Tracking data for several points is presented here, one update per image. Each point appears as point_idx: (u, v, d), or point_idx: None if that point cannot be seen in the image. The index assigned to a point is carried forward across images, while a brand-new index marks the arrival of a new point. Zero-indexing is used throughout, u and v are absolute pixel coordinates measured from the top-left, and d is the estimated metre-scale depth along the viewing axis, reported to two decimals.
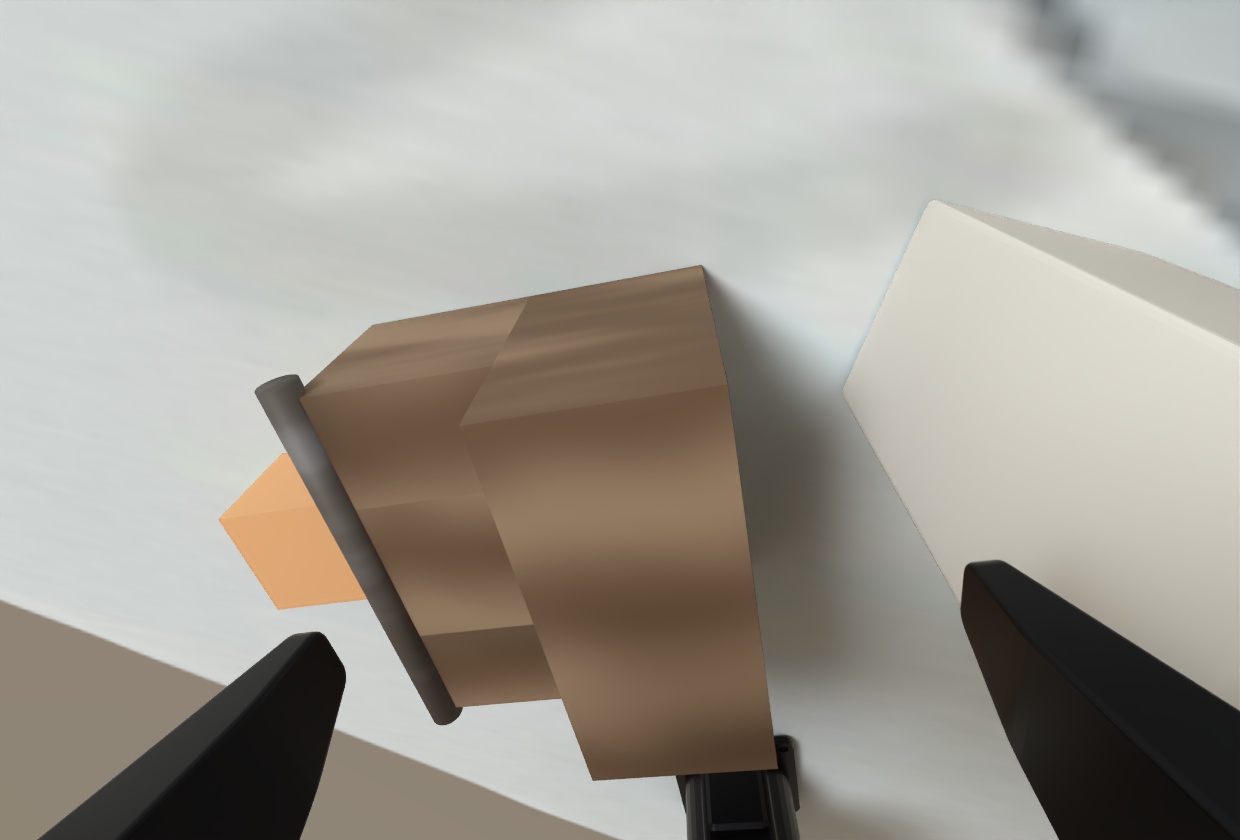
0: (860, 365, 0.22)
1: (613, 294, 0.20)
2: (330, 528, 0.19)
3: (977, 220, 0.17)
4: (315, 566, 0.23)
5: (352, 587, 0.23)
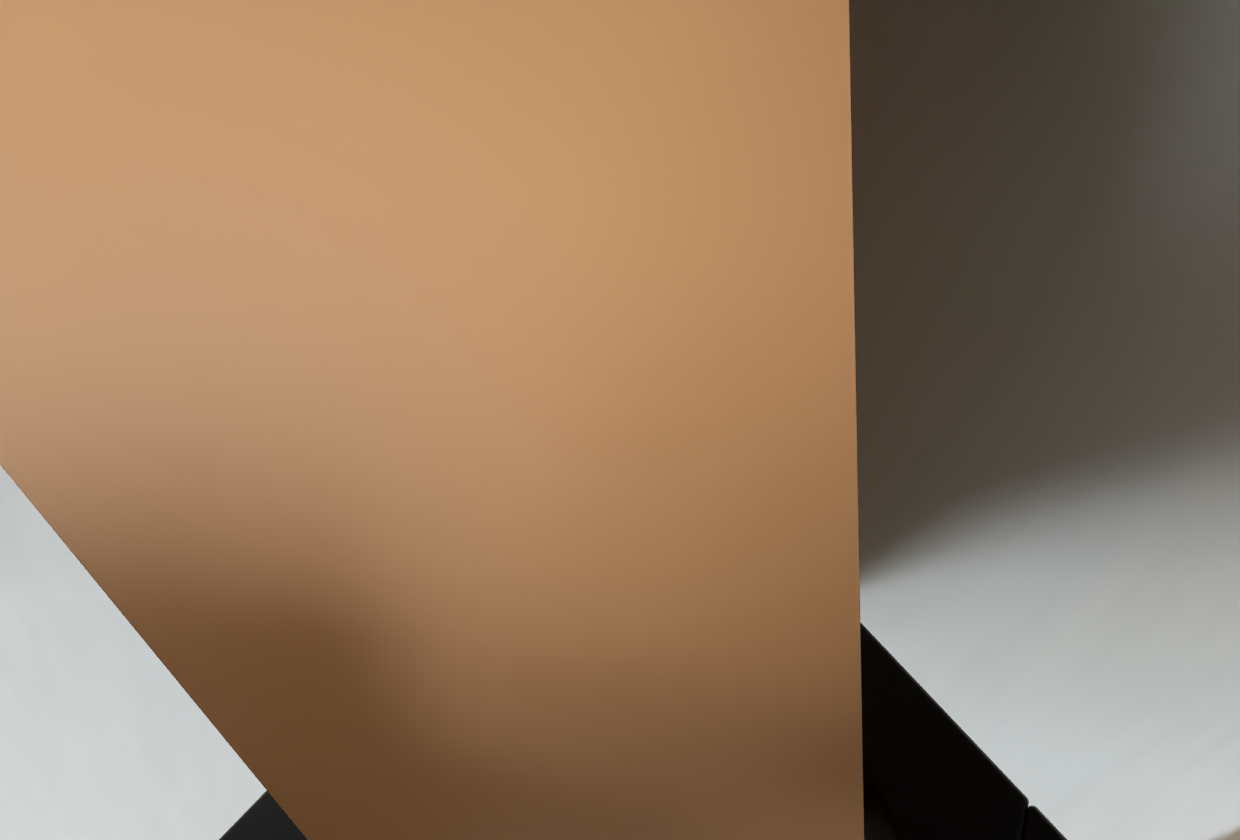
0: None
1: None
2: None
3: None
4: None
5: (764, 776, 0.04)
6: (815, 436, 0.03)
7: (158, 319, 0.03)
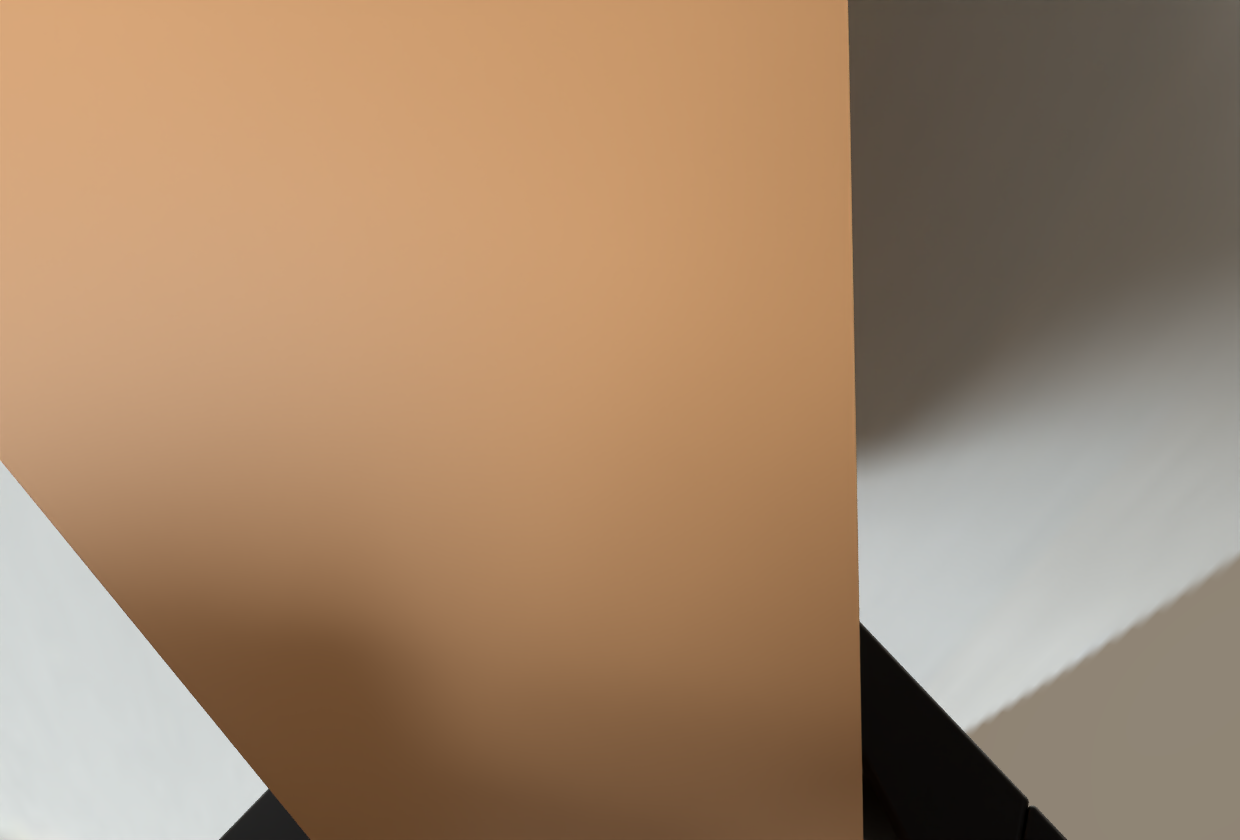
0: None
1: None
2: None
3: None
4: None
5: (765, 776, 0.04)
6: (814, 438, 0.03)
7: (162, 321, 0.03)
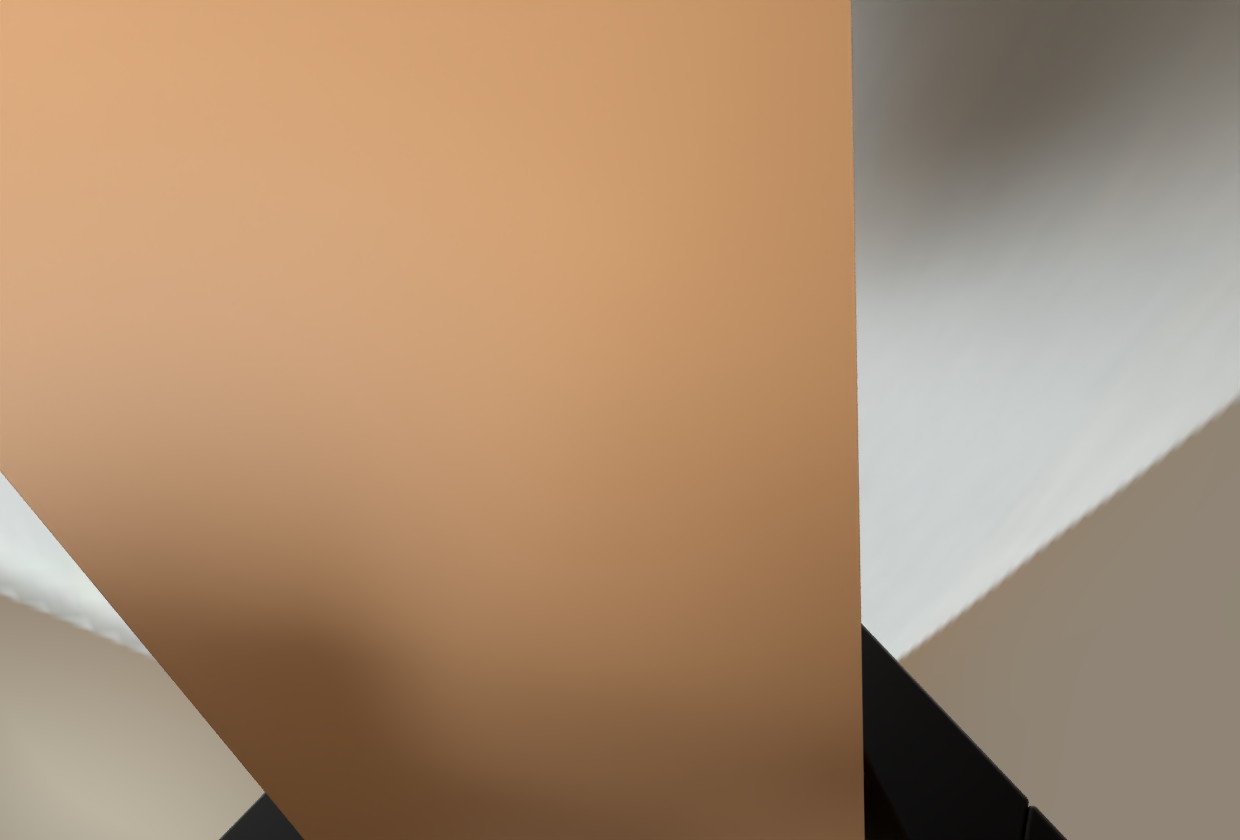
0: None
1: None
2: None
3: None
4: None
5: (764, 781, 0.04)
6: (817, 444, 0.03)
7: (159, 328, 0.03)
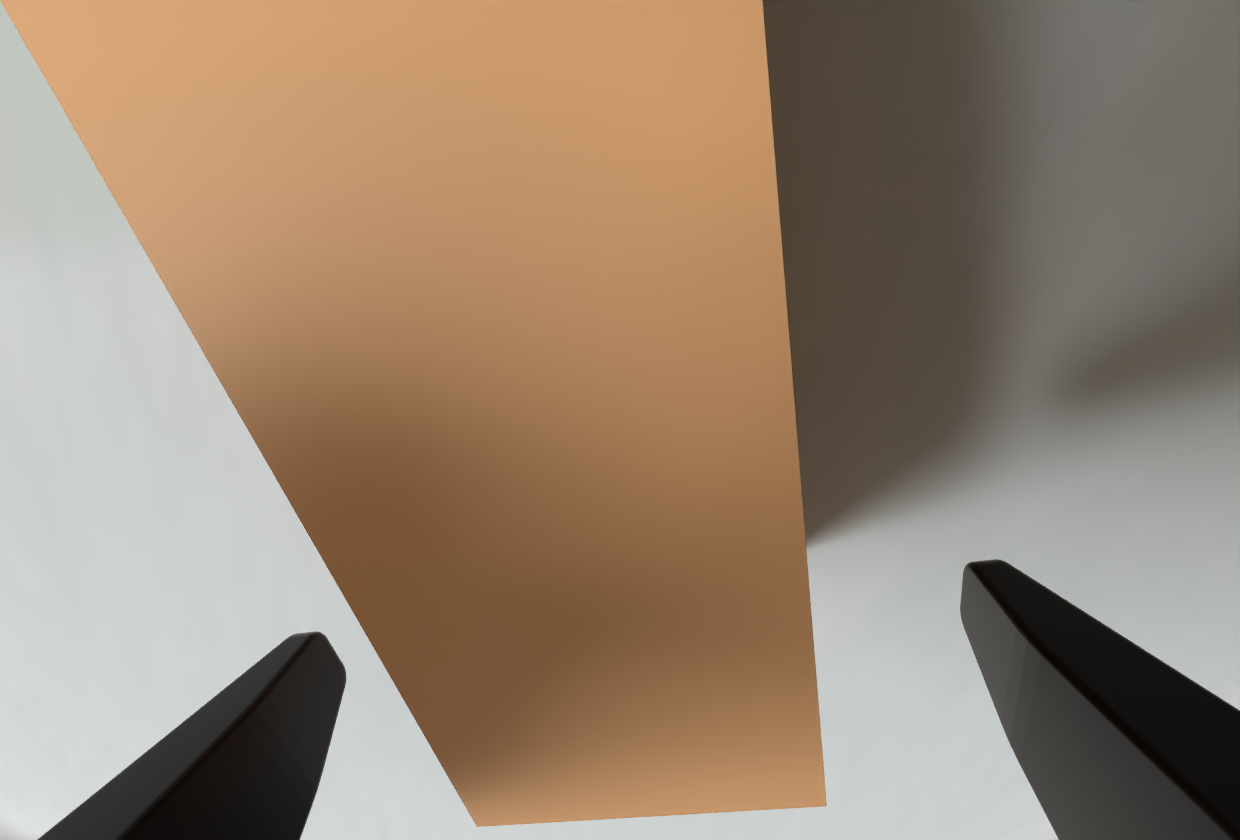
0: None
1: None
2: None
3: None
4: (635, 684, 0.07)
5: (738, 608, 0.06)
6: (761, 333, 0.05)
7: (333, 257, 0.04)
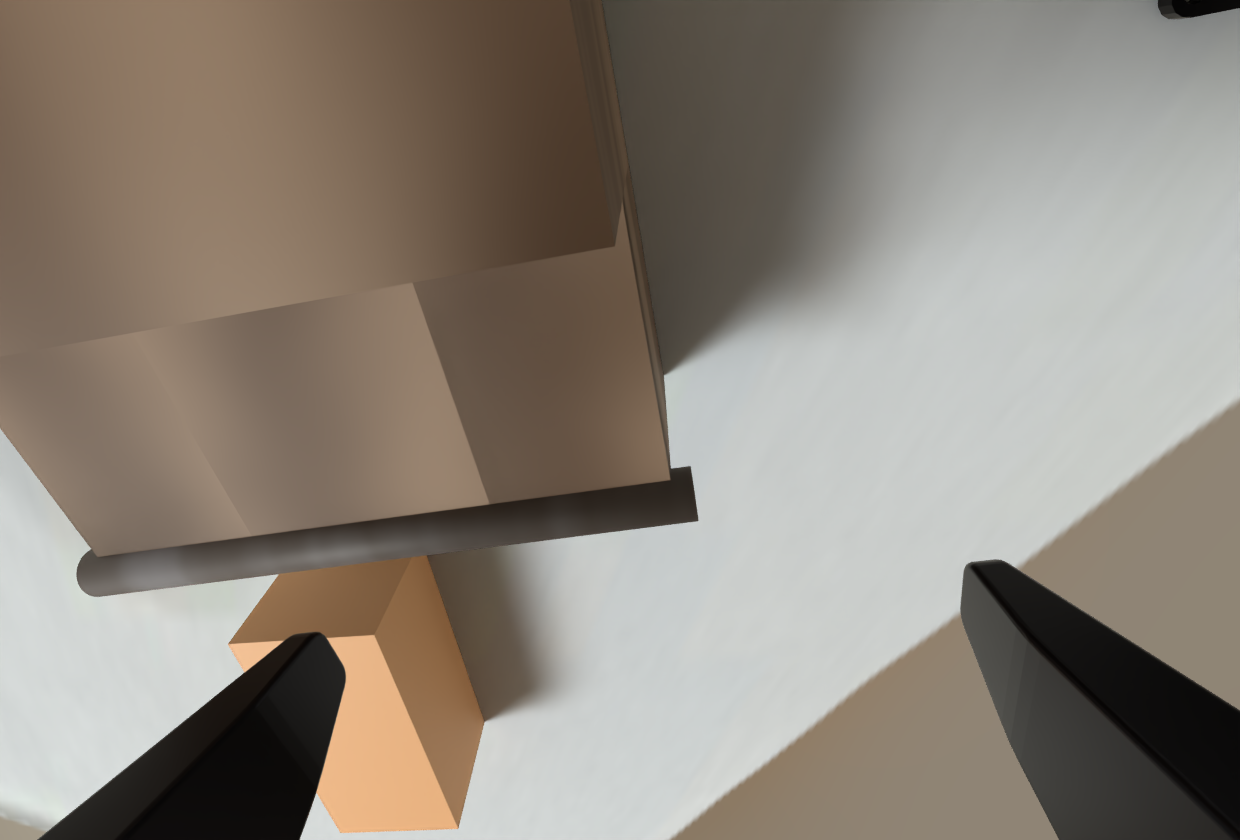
0: None
1: None
2: (274, 572, 0.14)
3: None
4: (388, 790, 0.22)
5: (414, 772, 0.21)
6: (404, 718, 0.20)
7: None
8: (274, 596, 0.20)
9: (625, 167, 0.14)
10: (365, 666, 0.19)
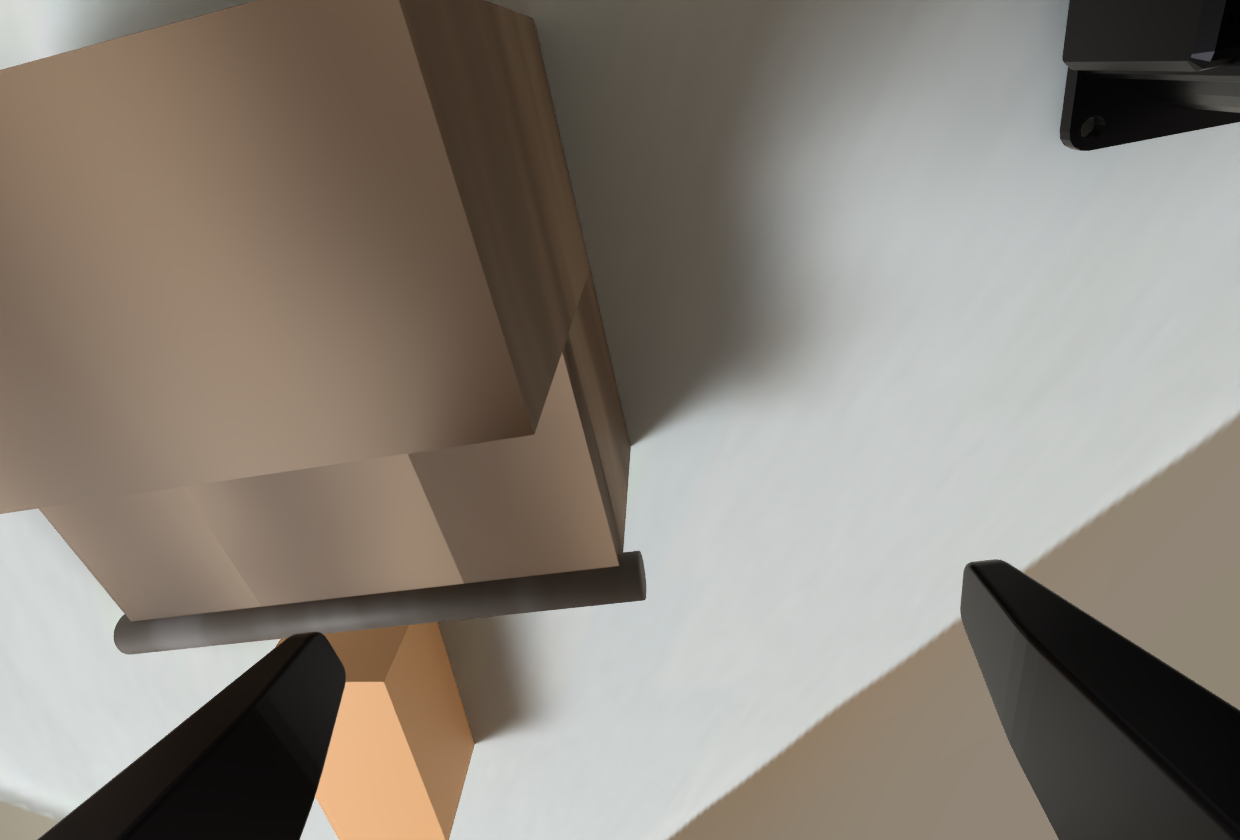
0: None
1: None
2: (281, 637, 0.17)
3: None
4: (386, 808, 0.24)
5: (410, 795, 0.23)
6: (405, 751, 0.22)
7: None
8: None
9: (580, 288, 0.15)
10: (373, 706, 0.21)
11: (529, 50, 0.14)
